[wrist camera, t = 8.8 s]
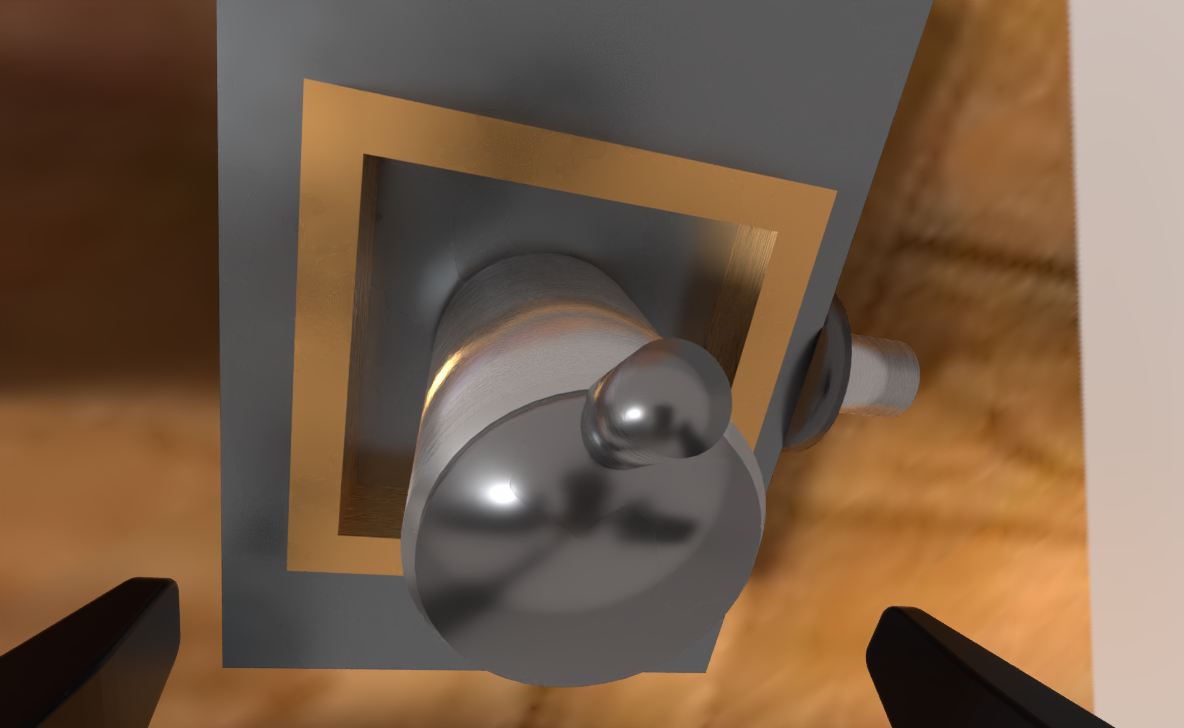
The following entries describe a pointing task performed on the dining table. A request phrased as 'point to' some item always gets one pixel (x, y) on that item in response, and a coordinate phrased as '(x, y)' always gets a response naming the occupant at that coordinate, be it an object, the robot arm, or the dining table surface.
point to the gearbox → (515, 250)
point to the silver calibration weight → (574, 481)
